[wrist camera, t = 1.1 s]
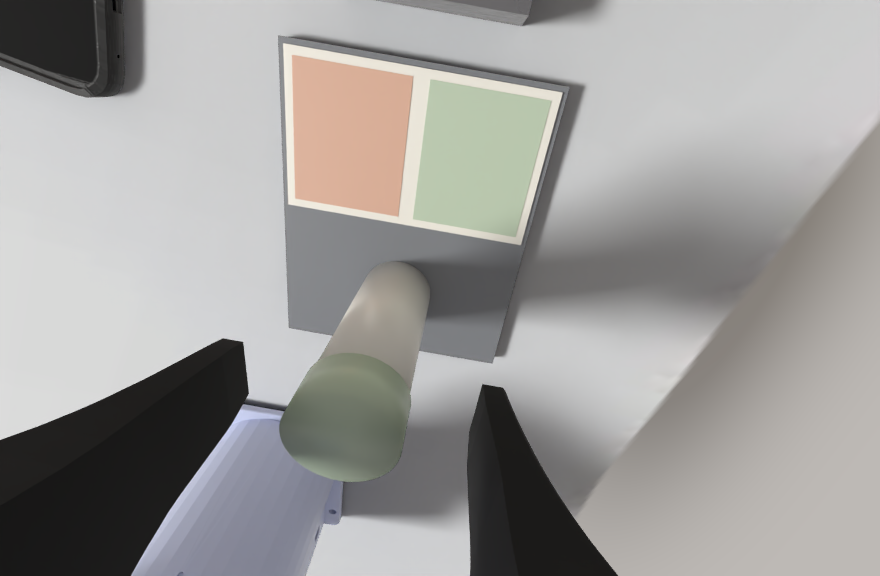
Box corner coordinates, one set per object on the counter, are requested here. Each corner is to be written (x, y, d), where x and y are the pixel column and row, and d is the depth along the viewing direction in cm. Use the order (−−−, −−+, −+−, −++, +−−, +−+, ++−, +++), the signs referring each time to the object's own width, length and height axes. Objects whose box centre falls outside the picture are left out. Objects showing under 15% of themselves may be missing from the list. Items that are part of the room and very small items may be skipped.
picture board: (492, 357, 19) (492, 364, 18) (293, 322, 19) (287, 329, 18) (566, 87, 13) (570, 87, 13) (284, 37, 13) (276, 34, 13)
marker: (427, 327, 18) (395, 490, 11) (359, 315, 18) (281, 470, 11) (437, 266, 16) (408, 406, 9) (364, 253, 16) (276, 383, 9)
